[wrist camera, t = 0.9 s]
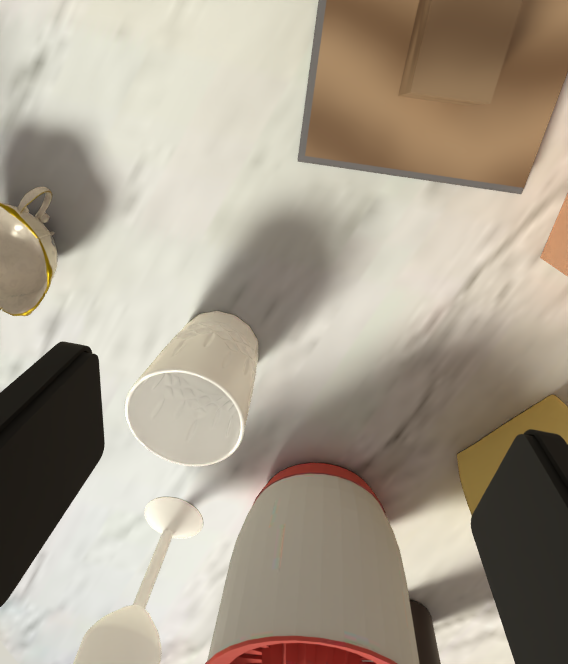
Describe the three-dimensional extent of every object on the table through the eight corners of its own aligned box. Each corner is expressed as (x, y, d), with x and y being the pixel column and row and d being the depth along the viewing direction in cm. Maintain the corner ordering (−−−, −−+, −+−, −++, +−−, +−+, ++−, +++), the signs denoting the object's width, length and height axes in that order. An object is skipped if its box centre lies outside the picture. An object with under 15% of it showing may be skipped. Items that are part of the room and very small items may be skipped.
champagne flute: (183, 490, 45) (47, 830, 23) (214, 531, 47) (117, 872, 26) (132, 505, 47) (-36, 831, 25) (165, 543, 49) (37, 870, 28)
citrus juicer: (342, 577, 49) (347, 841, 31) (216, 504, 45) (141, 755, 27) (442, 507, 42) (523, 793, 24) (304, 416, 39) (280, 671, 21)
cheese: (623, 455, 37) (715, 562, 28) (516, 512, 41) (566, 620, 33) (552, 385, 35) (628, 478, 26) (446, 453, 39) (479, 552, 30)
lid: (346, -139, 22) (351, -216, 17) (623, -105, 21) (713, -173, 16) (305, 154, 28) (300, 162, 23) (516, 185, 28) (557, 200, 23)
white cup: (192, 287, 34) (143, 349, 25) (281, 329, 35) (263, 402, 26) (164, 361, 37) (111, 438, 29) (244, 397, 38) (218, 482, 29)
